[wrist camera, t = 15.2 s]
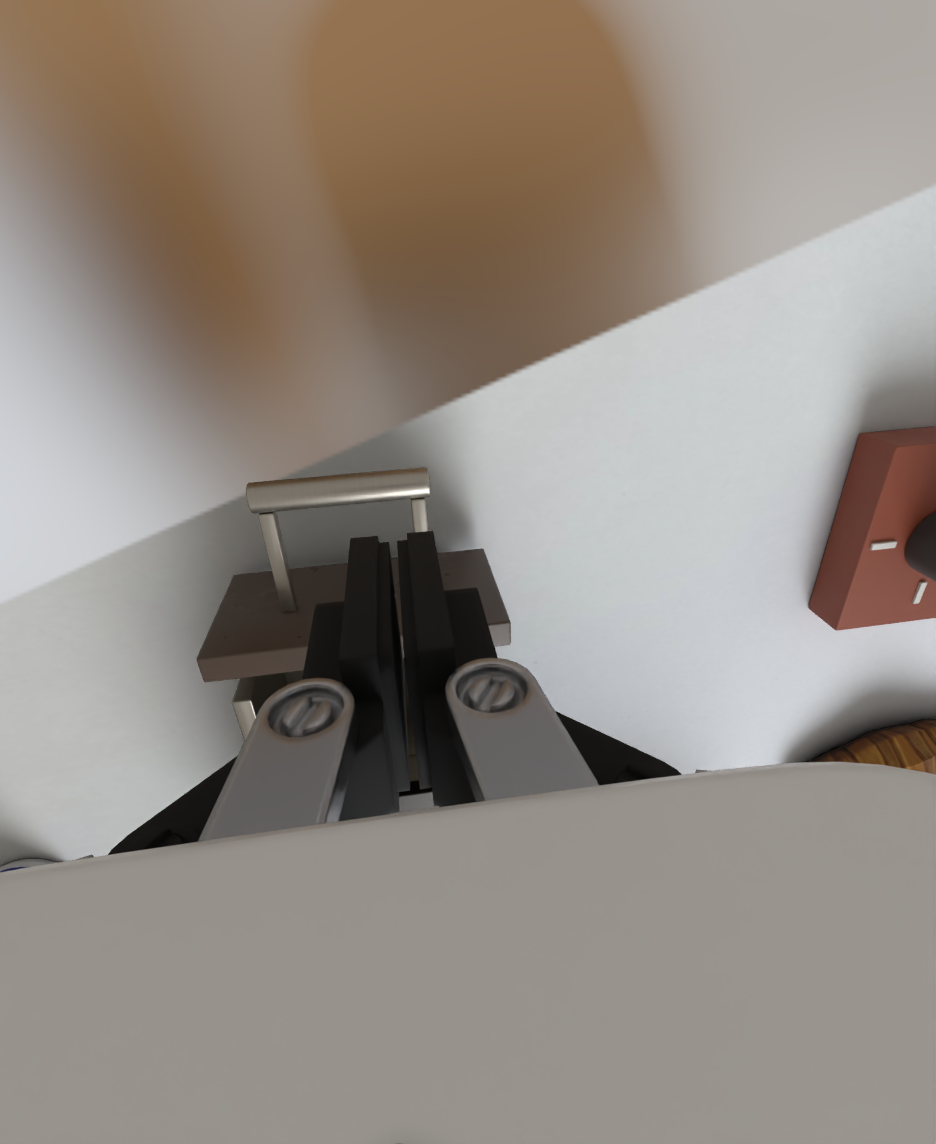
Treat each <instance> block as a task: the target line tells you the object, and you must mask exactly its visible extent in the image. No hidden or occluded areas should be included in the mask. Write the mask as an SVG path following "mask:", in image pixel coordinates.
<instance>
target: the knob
mask: <svg viewBox="0 0 936 1144" xmlns="http://www.w3.org/2000/svg"><path fill="white" fill-rule="evenodd" d="M905 556H906V560H907V563H908V564H909V566H910V567H911V568H913V569H914V570H916V571H918V572H919V573H921V574H923V575H925V576H926V577H928V578H930V579H931V580H933V581H935V582H936V512H934V513H932V514H931V515H929V516H928V517H927V518H925V519H924V520H923V521H922V522H921V523H920V524H919V525H918V526H917V528H916V529H915V530H914V531H913V533H912V534H911V536H910V538H909V540H908V543H907V546H906V551H905Z"/></svg>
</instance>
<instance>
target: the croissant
mask: <svg viewBox="0 0 936 1144" xmlns="http://www.w3.org/2000/svg"><path fill="white" fill-rule="evenodd" d="M810 762H850V763H865V764H879V765H886V766H892V767H898V768H903V769H909V770H915V771H921V772H926V773H930V774H934V775H936V719H928V720H919V721H916V722H913V723H910V724H907V725H898V726H892V727H888V728H883V729H879V730H875V731H872V732H870V733H868V734H866V735H863V736H861V737H859V738H857V739H855V740H853V741H851V742H849V743H847V744H845V745H844V746H842V747H840V748H837V749H834V750H831V751H828V752H827V753H825V754H823V755H821V756H819V757H818V758H816V759H814V760H812V761H810Z"/></svg>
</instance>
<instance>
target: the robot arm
mask: <svg viewBox="0 0 936 1144" xmlns="http://www.w3.org/2000/svg"><path fill="white" fill-rule="evenodd" d="M397 549H398V566H399V583H400V600H401V617H402V635H403V649H404V660H405V670H406V678H407V686H408V695H409V703H410V711H411V720H412V728H413V736H414V745H415V753H416V761H417V770H418V778H419V786H420V789H424V788H432V794H433V803H434V807H436V806H439V807H438V808H431V809H424V810H417V811H410V812H402V813H395V814H390V813H394V812H400V810H399V792H402V791H410V775H409V757H408V739H407V722H406V704H405V686H404V668H403V655H402V645H401V637H400V629H399V621H398V612H397V604H396V596H395V588H394V579H393V571H392V563H391V555H390V547H389V542H382V543H379V540H378V536H371V537H360V538H351V540H350V549H349V559H348V569H347V579H346V589H345V599H344V601H338V602H328V603H319V604H316V606H315V610H314V615H313V621H312V626H311V632H310V637H309V643H308V649H307V654H306V660H305V665H304V671H303V676H302V680H300V681H297V682H294V683H291V684H289V685H287V686H285V687H283V688H281V689H279V690H278V691H276V692H275V693H274V694H273V695H271V696H270V697H269V698H268V699H267V700H266V701H265V702H264V704H263V705H262V707H261V708H260V710H259V712H258V714H257V716H256V718H255V720H254V722H253V724H252V727H251V729H250V731H249V733H248V735H247V737H246V739H245V742H244V744H243V746H242V748H241V750H240V752H239V754H238V756H237V757H235V758H234V759H233V760H231V761H230V762H229V763H227V764H226V765H224V766H223V767H222V768H220V769H219V770H218V771H216V772H215V773H213V774H212V775H211V776H209V777H208V778H206V779H205V780H204V781H202V782H201V783H200V784H198V785H197V786H195V787H194V788H193V789H191V790H190V791H189V792H187V793H186V794H184V795H183V796H182V797H180V798H179V799H177V800H176V801H175V802H173V803H172V804H171V805H169V806H168V807H166V808H165V809H164V810H162V811H161V812H160V813H158V814H157V815H155V816H154V817H153V818H151V819H150V820H148V821H147V822H146V823H144V824H143V825H142V826H140V827H139V828H137V829H136V830H135V831H133V832H132V833H131V834H129V835H128V836H127V837H126V838H124V839H123V840H122V841H121V842H120V843H119V844H118V845H116V846H115V847H114V848H113V849H112V850H111V852H110V853H109V854H108V855H105V856H98V857H93V855H89V856H86V857H83V858H80V859H76V860H72V861H66V862H59V863H52V864H46V865H39V866H33V867H28V868H22V869H17V870H11V871H5V872H0V1144H936V775H934V774H930V773H926V772H921V771H915V770H909V769H903V768H898V767H892V766H886V765H879V764H865V763H850V762H803V763H786V764H776V765H766V766H755V767H745V768H734V769H724V770H715V771H707V770H696V772H695V773H693V774H685V775H682V774H681V773H680V772H679V771H678V770H676V769H675V768H673V767H671V766H670V765H668V764H666V763H665V762H663V761H661V760H659V759H657V758H655V757H652V756H650V755H648V754H646V753H644V752H642V751H640V750H637V749H635V748H633V747H631V746H629V745H627V744H625V743H622V742H620V741H618V740H616V739H614V738H612V737H610V736H607V735H605V734H603V733H601V732H599V731H597V730H595V729H592V728H590V727H588V726H586V725H584V724H582V723H580V722H577V721H575V720H573V719H571V718H569V717H567V716H565V715H562V714H560V713H558V712H556V711H555V710H554V709H553V707H552V705H551V704H550V702H549V700H548V699H547V697H546V695H545V694H544V692H543V690H542V689H541V687H540V685H539V684H538V682H537V680H536V679H535V677H534V676H533V675H532V674H531V673H530V671H529V670H528V669H527V668H525V667H523V666H522V665H520V664H518V663H516V662H513V661H510V660H506V659H500V658H497V654H496V651H495V647H494V644H493V640H492V637H491V633H490V630H489V626H488V623H487V619H486V616H485V612H484V609H483V605H482V602H481V598H480V595H479V591H478V589H477V587H473V588H464V589H454V590H444V588H443V582H442V577H441V571H440V566H439V561H438V555H437V550H436V545H435V539H434V534H433V531H425V532H414V533H407V540H403V541H397Z"/></svg>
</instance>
